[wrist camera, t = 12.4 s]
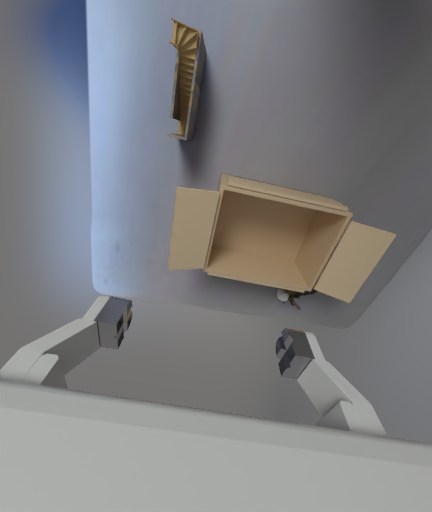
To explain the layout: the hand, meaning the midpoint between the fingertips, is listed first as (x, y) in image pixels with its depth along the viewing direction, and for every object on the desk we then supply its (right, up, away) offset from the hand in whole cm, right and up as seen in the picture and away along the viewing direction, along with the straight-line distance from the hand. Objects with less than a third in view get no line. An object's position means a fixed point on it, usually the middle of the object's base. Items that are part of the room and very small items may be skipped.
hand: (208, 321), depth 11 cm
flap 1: (0, +7, +22) cm, 23 cm away
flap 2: (+19, +3, +23) cm, 30 cm away
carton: (+10, +10, +32) cm, 35 cm away
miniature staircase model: (-4, +29, +23) cm, 37 cm away
